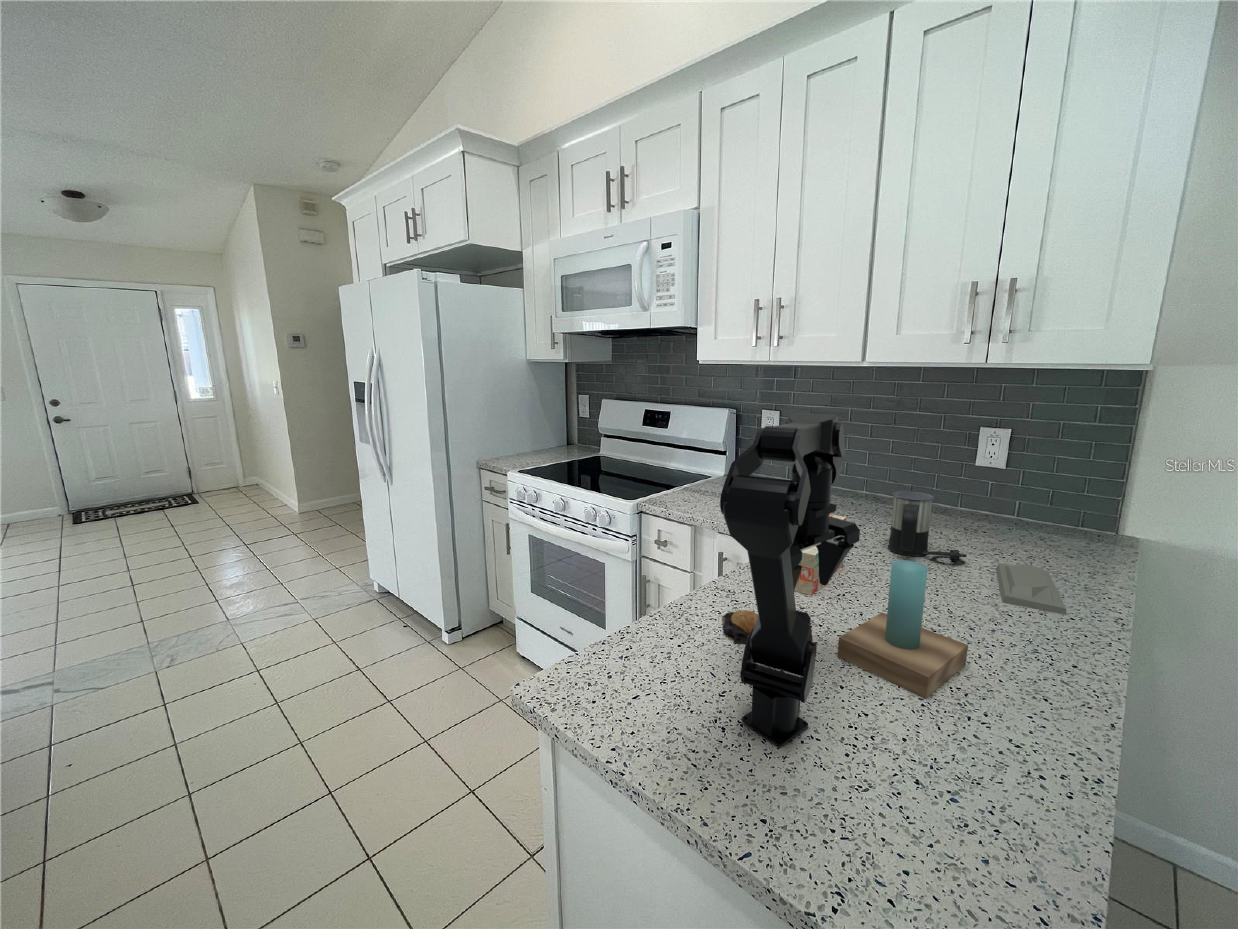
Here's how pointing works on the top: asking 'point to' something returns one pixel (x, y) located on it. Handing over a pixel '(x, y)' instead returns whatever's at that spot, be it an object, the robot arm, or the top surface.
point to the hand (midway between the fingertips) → (805, 592)
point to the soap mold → (1029, 588)
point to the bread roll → (739, 625)
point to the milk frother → (913, 525)
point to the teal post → (906, 604)
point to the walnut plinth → (903, 656)
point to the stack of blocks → (811, 569)
